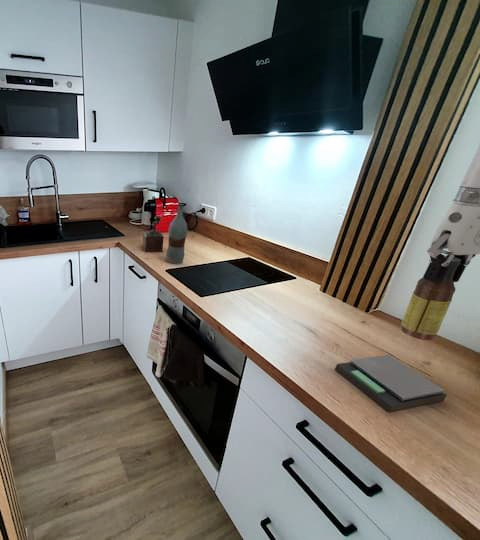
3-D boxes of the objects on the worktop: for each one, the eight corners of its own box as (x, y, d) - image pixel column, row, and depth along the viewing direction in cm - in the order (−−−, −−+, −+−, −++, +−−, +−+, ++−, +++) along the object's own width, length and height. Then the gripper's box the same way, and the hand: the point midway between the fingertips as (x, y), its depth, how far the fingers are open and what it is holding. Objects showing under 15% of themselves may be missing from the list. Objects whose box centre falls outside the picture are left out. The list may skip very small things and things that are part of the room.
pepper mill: (163, 252, 163) (166, 221, 156) (144, 252, 162) (146, 221, 155) (158, 243, 177) (160, 215, 170) (140, 243, 176) (142, 214, 169)
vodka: (162, 260, 150) (167, 203, 139) (172, 256, 156) (178, 201, 144) (176, 266, 144) (183, 206, 132) (186, 261, 150) (194, 204, 138)
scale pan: (386, 356, 80) (388, 354, 80) (443, 392, 68) (445, 390, 68) (349, 362, 77) (350, 360, 77) (401, 401, 66) (403, 398, 65)
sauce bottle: (436, 335, 69) (476, 259, 61) (429, 344, 66) (471, 266, 58) (401, 323, 74) (433, 251, 66) (393, 331, 71) (426, 256, 63)
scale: (383, 362, 81) (386, 354, 80) (443, 401, 69) (448, 393, 68) (334, 369, 78) (337, 362, 77) (388, 412, 65) (392, 404, 64)
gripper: (476, 201, 52) (430, 290, 59) (539, 200, 55) (489, 285, 62) (428, 195, 59) (392, 275, 66) (487, 194, 62) (447, 271, 69)
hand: (440, 279), depth 64 cm, fingers closed on sauce bottle, 4 cm apart
